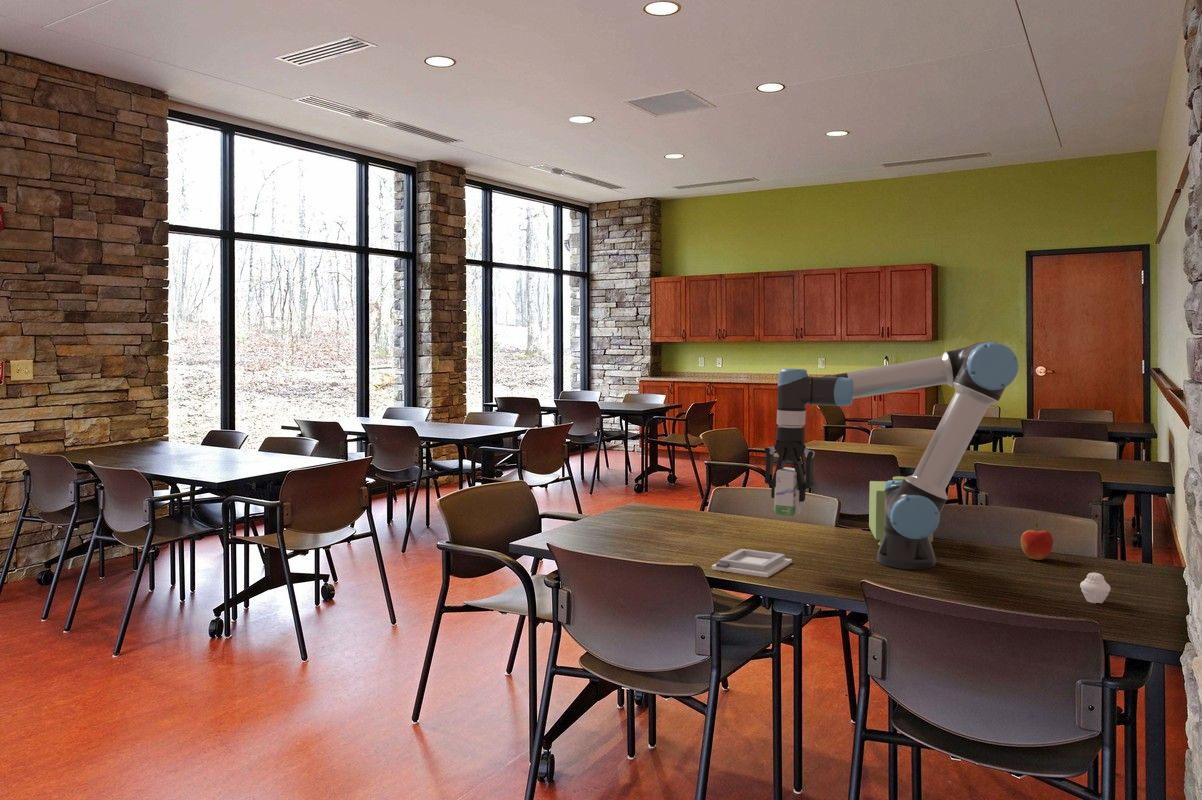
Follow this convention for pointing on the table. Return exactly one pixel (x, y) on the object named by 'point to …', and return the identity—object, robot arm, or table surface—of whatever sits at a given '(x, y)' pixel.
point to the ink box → (786, 491)
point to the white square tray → (752, 563)
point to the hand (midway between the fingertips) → (787, 511)
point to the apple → (1036, 544)
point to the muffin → (1095, 588)
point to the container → (879, 508)
